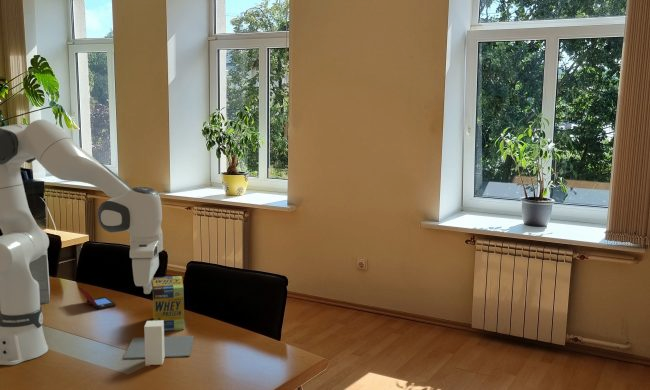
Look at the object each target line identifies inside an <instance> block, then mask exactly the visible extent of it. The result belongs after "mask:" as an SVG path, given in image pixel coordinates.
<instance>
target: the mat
mask: <svg viewBox="0 0 650 390" xmlns="http://www.w3.org/2000/svg"><path fill="white" fill-rule="evenodd" d="M194 338H195V335H184V336H183V335H182V336H181V335H179V336H177V335H176V336H164V350H165V357H171V358H181V357H180V356H190V355H191V352H192V348H191V347H193V343H194ZM190 357H191V356H190ZM142 358H145V337H132V339H131V340H130V343H129V345H128V348H127V349H126V351H125V353H124V356H123V360H139V359H142Z"/></svg>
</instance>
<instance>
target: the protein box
mask: <svg viewBox="0 0 650 390" xmlns="http://www.w3.org/2000/svg"><path fill="white" fill-rule="evenodd" d="M183 282H184V281H183V276H180V275H179V276H178V275H177V276H156V277H155V276H153V281H152V309H153V310H152V311H153V314H152V315H153V321H158V320H164V332H171V331H183V330H182V329H184V330H185V298H184V297H185V295H184V294H185V293H184V291H185V288H184V283H183Z"/></svg>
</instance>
